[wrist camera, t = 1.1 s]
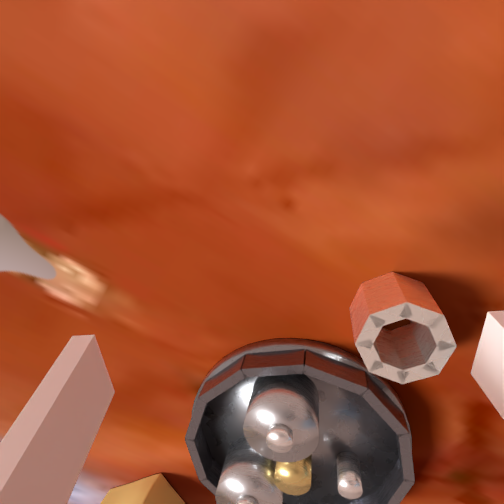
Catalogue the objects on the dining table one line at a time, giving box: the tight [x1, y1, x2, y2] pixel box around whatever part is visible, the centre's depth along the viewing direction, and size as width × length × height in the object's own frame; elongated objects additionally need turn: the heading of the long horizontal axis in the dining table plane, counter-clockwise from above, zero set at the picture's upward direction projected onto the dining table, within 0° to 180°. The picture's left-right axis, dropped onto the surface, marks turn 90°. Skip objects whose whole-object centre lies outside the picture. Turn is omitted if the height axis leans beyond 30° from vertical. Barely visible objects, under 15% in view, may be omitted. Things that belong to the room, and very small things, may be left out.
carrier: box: [185, 338, 415, 504], centre depth 37 cm, size 24×24×8 cm
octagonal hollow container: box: [349, 272, 457, 384], centre depth 31 cm, size 7×7×6 cm
